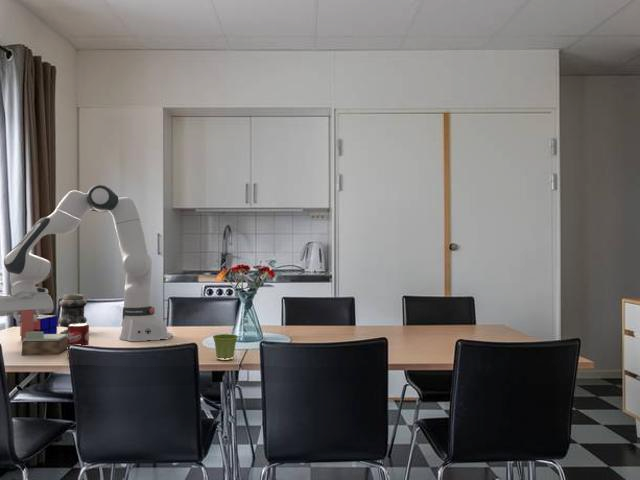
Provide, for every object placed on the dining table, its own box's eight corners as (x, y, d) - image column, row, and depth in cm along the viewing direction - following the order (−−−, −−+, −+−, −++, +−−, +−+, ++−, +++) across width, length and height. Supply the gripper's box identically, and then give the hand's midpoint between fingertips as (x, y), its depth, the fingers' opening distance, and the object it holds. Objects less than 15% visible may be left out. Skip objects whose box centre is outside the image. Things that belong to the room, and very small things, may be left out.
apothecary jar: (92, 331, 241) (92, 293, 241) (74, 335, 230) (74, 296, 230) (70, 329, 244) (71, 292, 244) (51, 334, 233) (52, 295, 233)
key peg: (31, 334, 205) (32, 310, 205) (33, 336, 202) (33, 311, 202) (20, 335, 203) (20, 310, 203) (21, 337, 200) (22, 311, 200)
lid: (67, 335, 201) (67, 327, 201) (58, 340, 192) (58, 332, 192) (33, 336, 199) (33, 328, 199) (22, 341, 190) (22, 332, 190)
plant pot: (239, 356, 193) (239, 334, 193) (236, 362, 183) (236, 338, 183) (214, 356, 192) (215, 333, 192) (210, 362, 183) (210, 338, 183)
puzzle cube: (40, 342, 215) (41, 318, 215) (20, 340, 217) (20, 317, 217) (57, 337, 225) (57, 315, 225) (37, 336, 227) (38, 314, 227)
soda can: (82, 353, 194) (83, 322, 194) (92, 356, 190) (92, 324, 190) (63, 356, 189) (64, 324, 189) (72, 359, 184) (73, 326, 184)
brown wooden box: (67, 349, 201) (67, 336, 201) (58, 354, 191) (58, 341, 192) (32, 349, 199) (33, 337, 199) (21, 355, 190) (22, 342, 190)
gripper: (-5, 291, 201) (-3, 318, 194) (52, 289, 214) (56, 314, 206) (-7, 300, 205) (-5, 328, 197) (49, 298, 218) (53, 324, 210)
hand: (27, 321), depth 202 cm, fingers closed on key peg, 4 cm apart
